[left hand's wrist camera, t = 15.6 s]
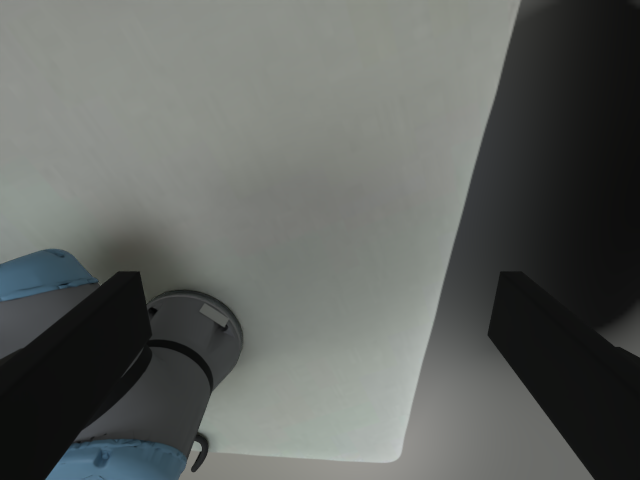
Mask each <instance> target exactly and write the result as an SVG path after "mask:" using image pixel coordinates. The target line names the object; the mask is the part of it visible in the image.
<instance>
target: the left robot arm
mask: <svg viewBox="0 0 640 480" xmlns="http://www.w3.org/2000/svg"><path fill="white" fill-rule="evenodd" d="M98 282H99V281H98V279H97V278H94V277H92V276H91V275H90V274H89V273H88V271H87V270H86V269H85V268H84V267H83V266H82V265H81V264H80V263H79V262H78V261H77V259H76V258H75V257H74V256H73V255H72V254H70V253H69V252H67V251H64V250H60V249H45V250H41V251H38V252H34V253H31V254H28V255H25V256H22V257H19V258H16V259H14V260H11V261H8V262H5V263H2V264H0V480H178V479H179V477H180V474H181V473H182V472H183V471H184V469H185V466H186V462H187V459H188V457H189V454H190V451H191V448H192V446H193V443H194V441H197V442H199V443H200V444H201V446H202V451H200V452H199V455H198V457H197V459H196V461H195V463H194V465H193V466H192V468H191V471H192V472H195V471H196V470H197V469H198V468H199V467H200V466H201V464H202V463H203V461H204V460H205V458H206V456H207V453H208V443H207V440H206V439H205V438H204V437H202V436H200V435H197V432H198V429H199V426H200V423H201V421H202V418H203V415H204V412H205V409H206V407H207V404H208V401H209V398H210V396H211V393H212V391H213V390H214V389H215V388H216V387H217V386H218V385H219V384H220V383H221V382H222V380H223V379H224V378H225V377H226V376H227V375H228V374H229V373H230V372H231V370H232V369H233V368H234V366H235V365H236V363H237V361H238V358H239V355H240V352H241V349H242V343H243V338H242V331H241V328H240V325H239V323H238V321H237V319H236V317H235V316H234V315H233V313H232V312H231V311H230V310H229V309H228V308H227V307H226V306H225V305H224V304H222V303H221V302H220V301H218V300H216V299H215V298H213V297H211V296H208V295H206V294H203V293H199V292H195V291H188V290H178V291H171V292H167V293H164V294H161V295H159V296H157V297H155V298H154V299H152V300H151V301H150V302H149V303H148V304H147V305H146V301H145V296H144V291H143V286H142V281H141V276H140V272H117V273H116V274H115V275H114V276H112V277H111V278H110V279H109V280H107V281H106V282H105V283H104V284H102V285H101V286H100V285H99V284H98ZM488 336H489V338H490V339H491V341H492V342H493V343H494V345H495V346H496V347H497V349H498V350H499V351H500V353H501V354H502V355H503V357H504V358H505V359H506V361H507V362H508V363H509V365H510V366H511V367H512V369H513V370H514V372H515V373H516V374H517V375H518V377H519V378H520V380H521V381H522V382H523V384H524V385H525V386H526V388H527V389H528V390H529V392H530V393H531V394H532V396H533V397H534V399H535V400H536V401H537V403H538V404H539V405H540V407H541V408H542V409H543V411H544V412H545V413H546V415H547V416H548V417H549V419H550V420H551V421H552V423H553V424H554V425H555V427H556V428H557V429H558V431H559V432H560V434H561V435H562V436H563V438H564V439H565V440H566V442H567V443H568V444H569V446H570V447H571V448H572V450H573V451H574V452H575V454H576V455H577V457H578V458H579V459H580V461H581V462H582V463H583V464H584V466H585V467H586V469H587V470H588V471H589V473H590V474H591V475H592V477H593V478H594V479H595V480H640V358H639V357H638V356H636V355H634V354H632V353H630V352H628V351H626V350H624V349H622V348H621V347H614V346H613V345H612V344H611V343H610V342H608V341H607V340H606V339H604V338H603V337H602V336H601V335H600V334H598V333H597V332H596V331H595V330H593V329H592V328H591V327H590V326H588V325H587V324H586V323H585V322H583V321H582V320H581V319H580V318H579V317H577V316H576V315H575V314H574V313H572V312H571V311H570V310H569V309H567V308H566V307H565V306H564V305H562V304H561V303H560V302H559V301H557V300H556V299H555V298H554V297H552V296H551V295H550V294H549V293H548V292H546V291H545V290H544V289H543V288H541V287H540V286H539V285H538V284H536V283H535V282H534V281H533V280H531V279H530V278H529V277H528V276H526V275H525V274H524V273H523V272H500V276H499V281H498V286H497V291H496V296H495V301H494V306H493V310H492V315H491V320H490V325H489V330H488Z"/></svg>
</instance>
